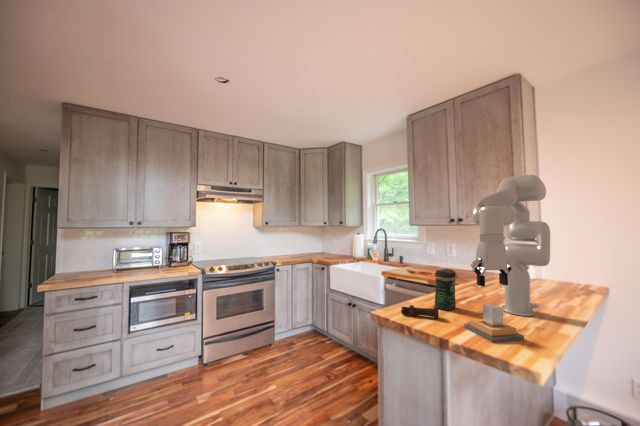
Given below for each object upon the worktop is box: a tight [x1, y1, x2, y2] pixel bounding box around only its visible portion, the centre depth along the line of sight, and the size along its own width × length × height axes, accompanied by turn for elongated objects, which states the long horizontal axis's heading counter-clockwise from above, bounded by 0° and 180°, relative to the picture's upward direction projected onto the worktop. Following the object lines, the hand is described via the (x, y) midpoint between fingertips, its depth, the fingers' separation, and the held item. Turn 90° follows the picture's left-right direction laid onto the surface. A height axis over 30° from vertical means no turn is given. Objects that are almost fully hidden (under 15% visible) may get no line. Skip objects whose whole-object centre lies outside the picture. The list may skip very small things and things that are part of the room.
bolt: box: [400, 304, 440, 321], centre depth 116 cm, size 6×5×15 cm
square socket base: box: [464, 318, 525, 343], centre depth 98 cm, size 13×13×4 cm
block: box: [482, 303, 504, 328], centre depth 98 cm, size 4×4×10 cm
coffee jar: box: [434, 268, 457, 311], centre depth 128 cm, size 10×8×19 cm
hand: (492, 285), depth 99 cm, fingers open, 9 cm apart
